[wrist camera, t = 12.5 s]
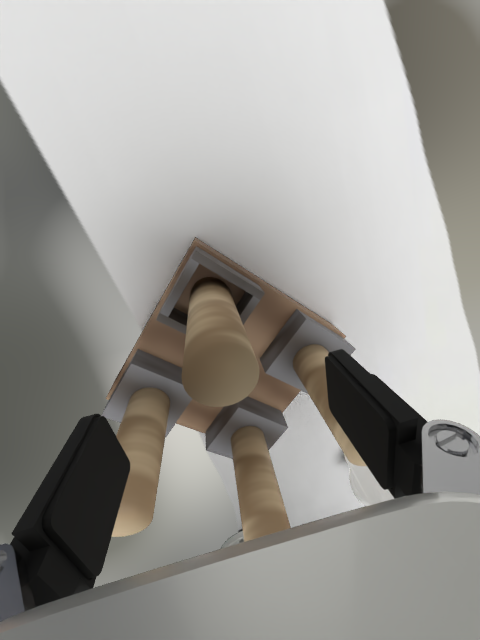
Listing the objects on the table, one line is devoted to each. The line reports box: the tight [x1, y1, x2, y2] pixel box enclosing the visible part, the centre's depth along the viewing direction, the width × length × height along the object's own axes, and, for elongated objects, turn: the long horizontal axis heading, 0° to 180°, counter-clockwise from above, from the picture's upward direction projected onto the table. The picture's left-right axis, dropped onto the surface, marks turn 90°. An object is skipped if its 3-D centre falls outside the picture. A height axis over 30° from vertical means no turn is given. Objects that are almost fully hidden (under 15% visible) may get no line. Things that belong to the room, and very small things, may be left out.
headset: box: [344, 455, 405, 506], centre depth 34 cm, size 20×7×18 cm, turn 43°
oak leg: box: [182, 277, 259, 407], centre depth 17 cm, size 4×4×12 cm
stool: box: [101, 237, 367, 542], centre depth 22 cm, size 18×18×15 cm
